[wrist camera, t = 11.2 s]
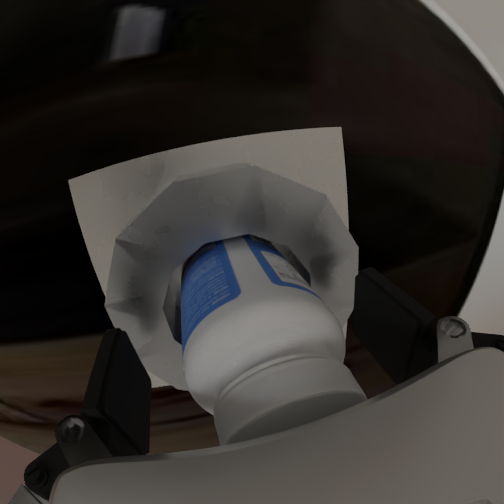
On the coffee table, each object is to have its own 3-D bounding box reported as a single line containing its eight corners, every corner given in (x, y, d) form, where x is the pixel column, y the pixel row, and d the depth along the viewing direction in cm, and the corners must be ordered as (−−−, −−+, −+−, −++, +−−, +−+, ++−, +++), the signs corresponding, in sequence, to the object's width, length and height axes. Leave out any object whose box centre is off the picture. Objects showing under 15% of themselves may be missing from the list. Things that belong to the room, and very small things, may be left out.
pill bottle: (193, 327, 15) (212, 491, 6) (171, 238, 13) (149, 404, 4) (285, 308, 16) (368, 446, 7) (280, 219, 14) (413, 334, 5)
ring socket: (74, 178, 12) (39, 190, 8) (333, 127, 13) (375, 125, 10) (152, 379, 17) (149, 421, 14) (340, 333, 19) (366, 366, 15)
